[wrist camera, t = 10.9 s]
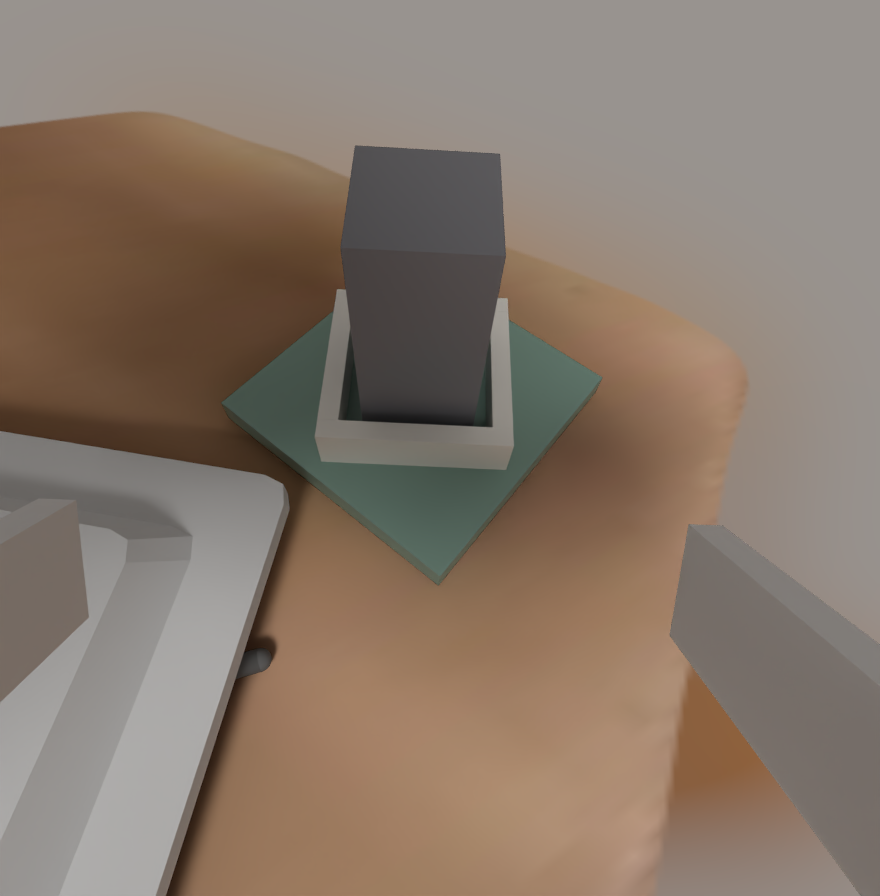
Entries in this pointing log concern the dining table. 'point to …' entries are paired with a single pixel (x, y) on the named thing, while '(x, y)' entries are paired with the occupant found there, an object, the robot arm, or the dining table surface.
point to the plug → (422, 280)
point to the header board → (413, 493)
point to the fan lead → (254, 662)
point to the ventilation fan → (128, 664)
